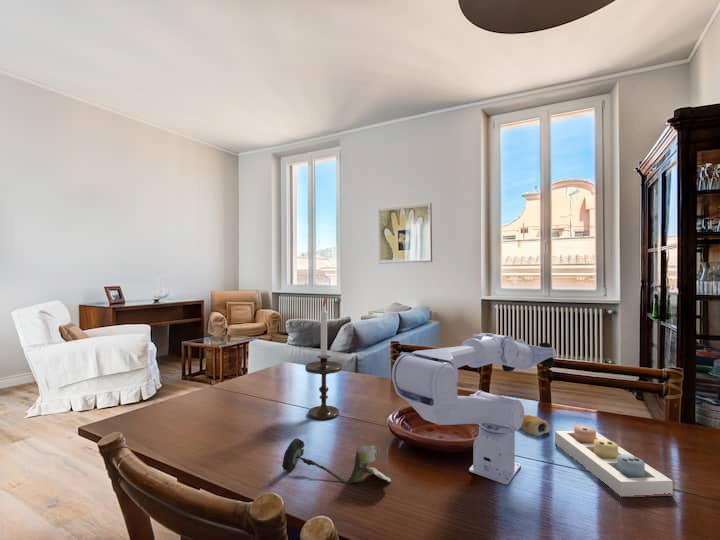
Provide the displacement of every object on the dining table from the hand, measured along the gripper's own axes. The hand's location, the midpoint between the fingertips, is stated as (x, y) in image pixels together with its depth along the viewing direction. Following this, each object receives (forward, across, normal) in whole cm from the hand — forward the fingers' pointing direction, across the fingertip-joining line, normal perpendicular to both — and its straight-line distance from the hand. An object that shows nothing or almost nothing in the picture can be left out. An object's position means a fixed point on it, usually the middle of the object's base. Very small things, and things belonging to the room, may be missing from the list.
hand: (536, 360), depth 94 cm
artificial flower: (-40, +30, +25) cm, 56 cm away
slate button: (-2, -15, +24) cm, 29 cm away
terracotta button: (+6, -5, +19) cm, 21 cm away
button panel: (+3, -9, +24) cm, 25 cm away
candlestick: (-24, +55, +12) cm, 61 cm away
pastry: (+10, +8, +16) cm, 21 cm away
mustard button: (+2, -10, +22) cm, 24 cm away
